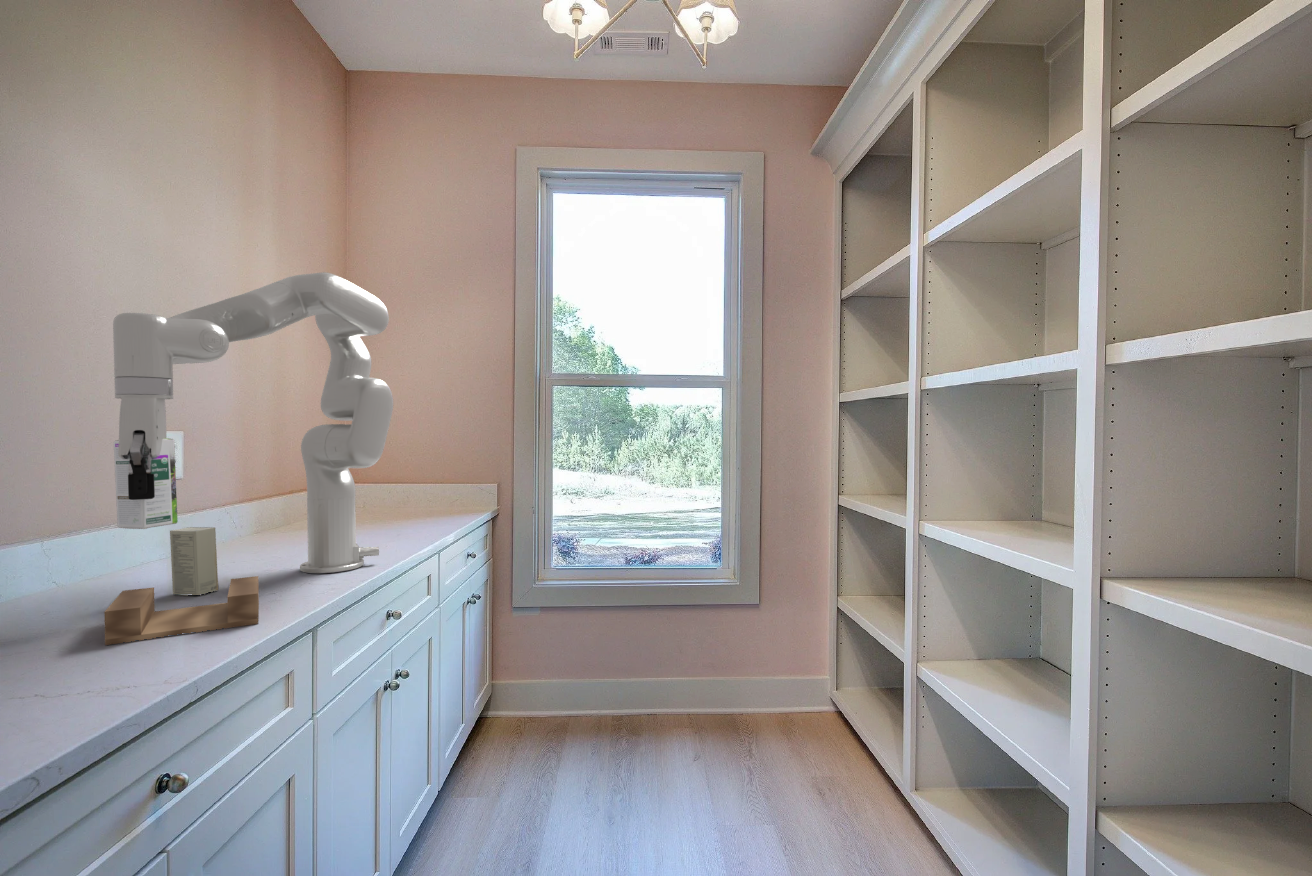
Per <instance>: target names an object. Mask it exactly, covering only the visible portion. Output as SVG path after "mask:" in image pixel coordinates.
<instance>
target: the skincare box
mask: <svg viewBox="0 0 1312 876" xmlns="http://www.w3.org/2000/svg"><path fill="white" fill-rule="evenodd" d="M216 534H217V531H216V527H213V526H211V527H210V526H208V527H205V526H190V527H184V528H183V527H182V528H179V529H171V530H169V541H170V542H169V543H170V563H171V581H172V583H171V584H172V586H171V587H172V595H173V594H192V595H200V594H204V595H206V594H205V593H208V592H211V593H214V592H217V591H219V578H218V577H219V575H218V574H219V573H218V560H217V559H218V557H217V556H218V555H217V538H216V536H217V535H216ZM213 591H214V592H213ZM208 594H209V593H208ZM200 596H201V595H200Z"/></svg>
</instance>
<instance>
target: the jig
mask: <svg viewBox="0 0 1312 876" xmlns="http://www.w3.org/2000/svg"><path fill="white" fill-rule="evenodd" d="M259 592H260V591H259V575H256V576H247V577H238V578H237V577H236V578H230V582H229V587H228V592H227V597H226V598H227V599H226V600H227V601H226V602H222V603H213V604H205V605H198V606H197V605H196V606H188V607H181V608H174V609H165V610H158V611H155V587H146V588H135V589H134V588H133V589H126V590H122V591H120V593H119V594H118V595H117V597H116V598H115V599H114V600H113V601H112V602H111V603H110V604H109V606H108V607H107V608H106V609H105V611H103V613H104V614H103V615H104V616H103V617H104V646H109V645H116V644H117V645H118V644H124V643H123V642H125V643H130V642H131V641H132V642H136V641H135V640H139V641H145V640H144V639H147V640H151V639H152V638H154V639H157V638H156V637H161V638H165V637H164V636H168V635H175V636H178V635H177V634H182V633H189V634H192V633H191V632H196V633H201V632H202V631H203V632H208V631H207V630H210V631H216V629H217V630H223V629H222V628H224V629H230V628H238V627H245V626H246V627H247V626H251V625H252V626H253V625H258V624H259V619H260V618H259V614H260V613H259V611H260V610H259V609H260V608H259V605H260V603H259V602H260V598H259V595H260V594H259ZM182 635H183V634H182ZM168 637H169V636H168ZM152 640H153V639H152ZM132 642H131V643H132Z"/></svg>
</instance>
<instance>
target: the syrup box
mask: <svg viewBox="0 0 1312 876" xmlns="http://www.w3.org/2000/svg"><path fill="white" fill-rule="evenodd" d="M145 443H146V442H144V446H143V449H142V455H149V453H147V452H146V451H145ZM118 452H119V439H117V440H114V441H113V457H114V458H113V459H114V476H115V477H114V478H115V479H114V481H115V500H116V523H117V524H116V525H117V528H119V529H125V530H126V529H128V530H147V529H151V528H158V527H162V526H171V525H176V524H178V523H179V521H178V520H179V519H178V499H177V476H176V475H177V474H176V450H175V439H173V438H168V437H166V438H164V439H162V446H161V451H160V456H159V457H157V458H154V459H153V463H152V473H151V474H154V488H155V497H154V498H153V499H140V500H130V499H129V497H128V475H129V472H128V470H129V461H130V455H124V457H125V458H127V459H121V458H120V457H119V454H118ZM128 454H130V450H129V453H128ZM146 465H147V461H146Z"/></svg>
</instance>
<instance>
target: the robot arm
mask: <svg viewBox="0 0 1312 876" xmlns="http://www.w3.org/2000/svg"><path fill="white" fill-rule="evenodd" d="M313 316H315V317H314V319H315V322H316V326H317V329H319V331H320V333H321V335H322V336H323V338H324V339H325V341H326V343H327V346H328V347H329V351H330V361H329V366H328V370H327V374H326V378H325V381H324V385H323V390H322V394H321V398H320V410H321V411H322V413H323V415H324V416H325V417H327V418H329V419H331V420H335V421H344V422H345V421H346V422H348V421H351V423H350V424H349V423H348V424H347V423H346V424H344V423H335V424H333V423H330V424H327V423H326V424H320V425H317V426H313V427H311V428H310V429H309V430H308V431H307V432H306V433H305V434H304V435H303V437H302V440H301V443H300V451H301V457H302V460H303V466H304V471H305V477H306V493H307V494H306V509H307V510H306V512H307V514H306V515H307V517H306V518H307V561H305V562H302V563H301V564H300V565H299V571H301V572H302V573H308V574H332V573H337V572H338V573H341V572H345V571H347V572H348V571H352V570H355V569H358V568H361V567H363V566H364V564H365V560H364V557H375V556H377V557H378V556H380V548H379V546H373V547H372V546H367V547H363V546H361V547H360V546H359V545H358V543H357V534H356V533H357V528H356V527H357V526H356V525H357V522H356V521H357V520H356V496H357V495H356V483H355V481H354V477H353V475H352V473H351V471H350V469H366V468H370V467H373V466H374V465H376V463H378V461H379V460H381V457H382V455H383V453H384V449H385V446H386V442H387V437H388V433H389V429H390V425H391V420H392V415H393V411H394V397H393V393H392V390H391V388H390V386H389V385H388V384H387V383H386V382H385V381H384V380H382V379H380V378H376V377H371V376H370V375H371V370H372V357H371V354H370V351H369V350H368V348H367V346H366V344H365V343H364V341H363V339H362V338H361V337H367V336H377V335H380V334H381V333H383V332H384V331H385V330H386V329H387V327H388V325H389V323H390V315H389V311H388V309H387V307H386V305H385V304H384V302H382V301H381V299H380V298H378V297H377V296H375V295H374V294H372V293H370V292H369V291H367V290H365V289H363V288H361V287H360V286H358V285H356V284H355V283H353V282H351V281H349V280H347V279H345V278H344V277H341V276H340V275H337V274H334V273H331V272H325V271H324V272H323V271H322V272H313V273H305V274H297V275H291V276H288V277H285V278H283V279H280V280H278V281H274V282H271V283H270V284H267V285H264V286H262V287H258V288H256V289H253V290H251V291H248V292H243V293H242V294H239V295H236V296H235V295H234V296H231V297H228V298H225V299H223V300H219V301H217V302H214V303H213V302H212V303H211V304H207V305H204V306H200V307H197V308H194V309H190V310H188V311H184V312H181V313H178V314H175V315H173V316H169V317H165V316H163V315H162V316H161V315H158V314H152V313H143V312H123V313H119V314H117V315H116V316H115V317H114V319H113V322H112V332H113V333H112V334H113V335H112V336H113V337H112V338H113V368H114V370H113V373H114V375H113V377H114V399H121V400H120V406H119V418H118V419H119V420H118V422H119V423H118V440H119V452H118V454H119V457H120V458H121V459H127V458H125V457H124V455H130V461H129V470H128V472H129V475H128V497H129V499H130V500H140V499H153V498H154V497H155V488H154V474H151V473H152V463H153V459H154V458H157V457H159V456H160V451H161V446H162V439H164V438H167V415H166V414H167V411H166V410H167V409H166V400H174V380H173V379H174V374H173V373H174V371H173V369H174V367H173V366H174V365H183V364H184V365H185V364H205V363H211V362H215V361H218V360H219V359H221V358H222V357H223V356H224V355H225V354H226V353H227V351H228V350H229V346H230V343H233V342H239V341H247V340H253V339H257V338H258V339H259V338H261V337H262V338H263V337H265V336H268V335H271V334H274V333H275V332H277V331H280V330H282V329H284V328H286V327H289V326H291V325H294V324H296V323H298V322H300V321H302V320H305V319H306V318H310V317H313ZM144 442H146V443H145V451H146V452H147V453H149V455H142V449H143V446H144ZM129 450H130V454H128V453H129ZM146 461H147V465H146Z"/></svg>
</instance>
